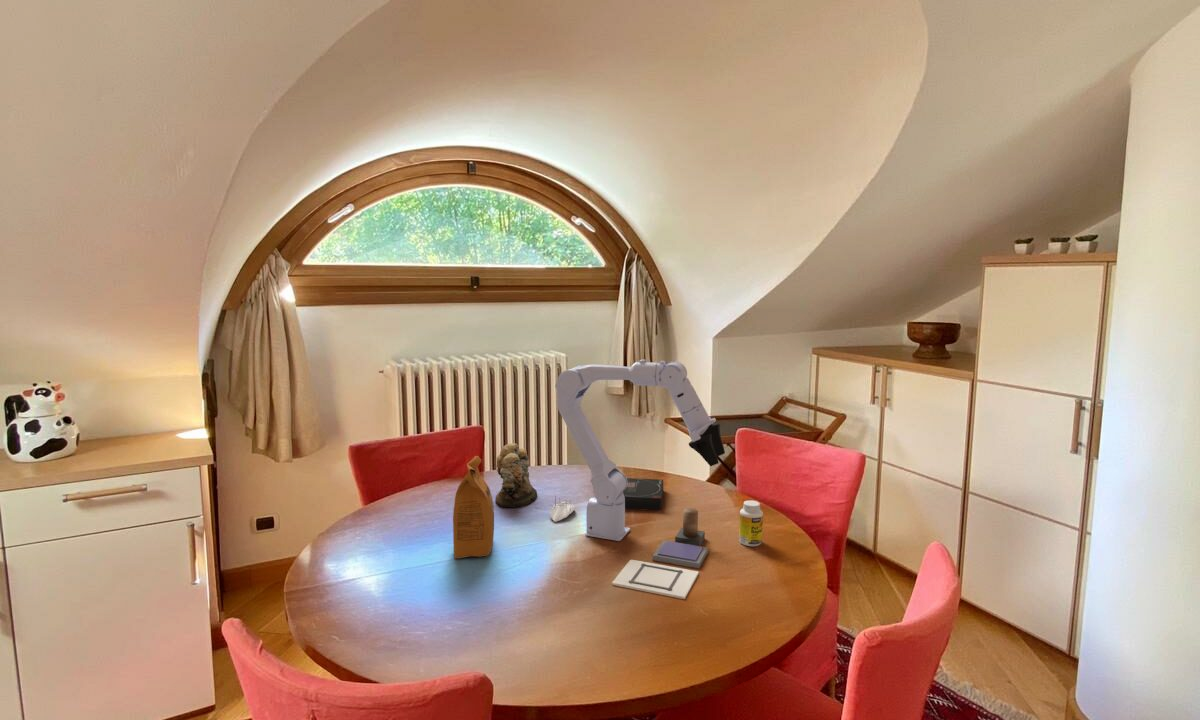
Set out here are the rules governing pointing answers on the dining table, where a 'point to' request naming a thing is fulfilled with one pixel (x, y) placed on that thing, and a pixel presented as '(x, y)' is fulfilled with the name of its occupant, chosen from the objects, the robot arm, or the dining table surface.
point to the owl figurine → (514, 477)
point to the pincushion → (561, 510)
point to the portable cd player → (643, 494)
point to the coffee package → (473, 515)
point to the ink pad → (680, 554)
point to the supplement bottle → (751, 524)
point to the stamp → (690, 529)
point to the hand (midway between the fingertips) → (717, 459)
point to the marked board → (656, 578)
